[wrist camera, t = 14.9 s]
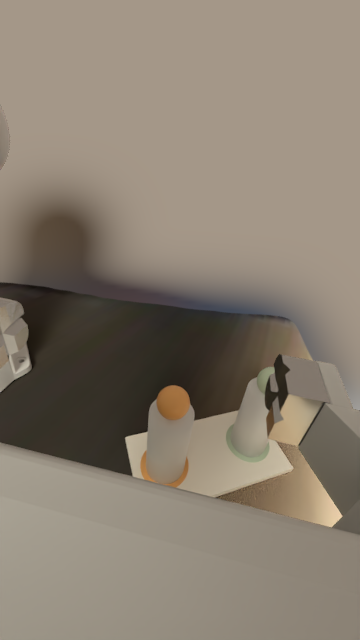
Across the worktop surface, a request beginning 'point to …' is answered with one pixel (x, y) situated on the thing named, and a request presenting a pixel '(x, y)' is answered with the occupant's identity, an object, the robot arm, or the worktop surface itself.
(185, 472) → the card
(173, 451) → the orange ball tube
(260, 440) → the green ball tube
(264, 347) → the worktop surface
